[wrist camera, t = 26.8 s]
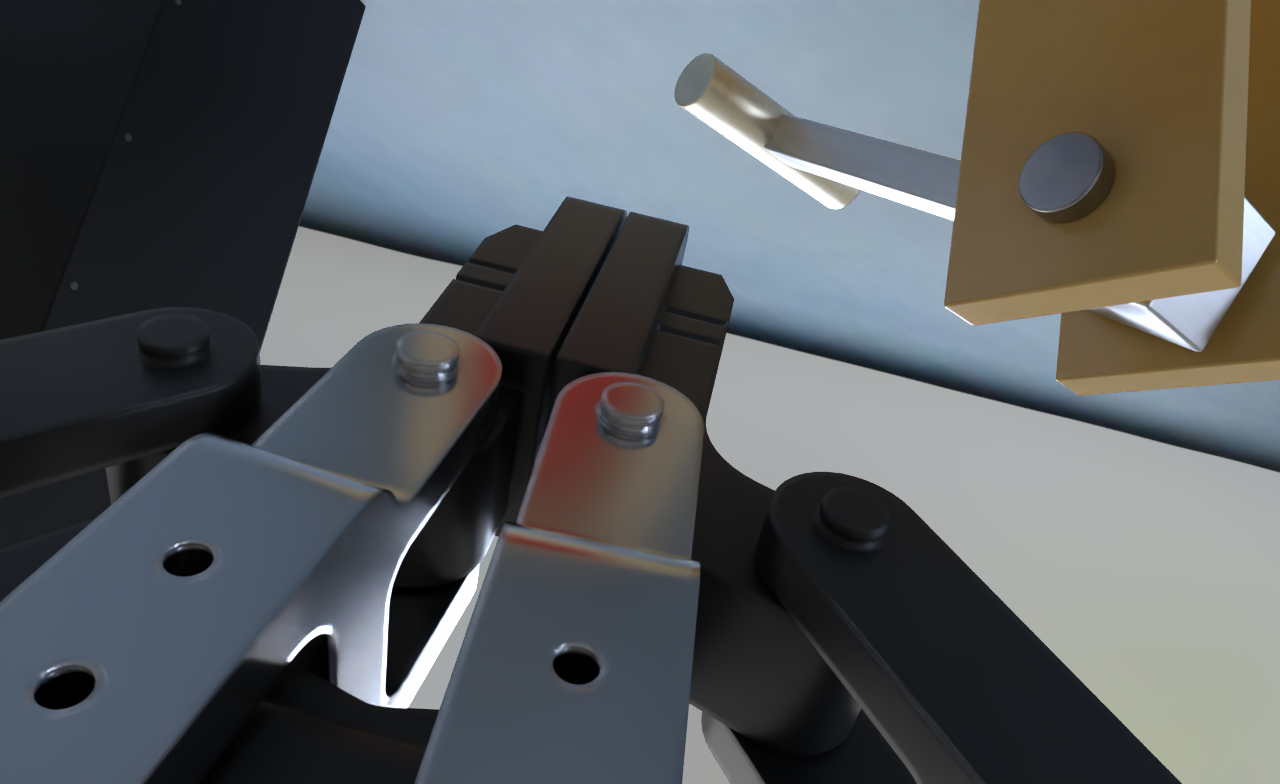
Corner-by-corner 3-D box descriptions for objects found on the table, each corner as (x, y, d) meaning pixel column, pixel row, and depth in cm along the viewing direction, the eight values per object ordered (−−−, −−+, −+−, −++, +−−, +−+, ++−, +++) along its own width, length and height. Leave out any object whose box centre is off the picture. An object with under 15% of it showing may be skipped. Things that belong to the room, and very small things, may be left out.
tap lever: (849, 142, 29) (807, 218, 29) (702, 31, 25) (656, 118, 25) (1315, 273, 18) (1243, 388, 19) (1179, 116, 15) (1092, 262, 15)
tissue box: (44, -134, 34) (-323, 732, 26) (224, -164, 31) (-132, 801, 23) (211, 17, 41) (-42, 734, 33) (371, 5, 38) (132, 789, 30)
